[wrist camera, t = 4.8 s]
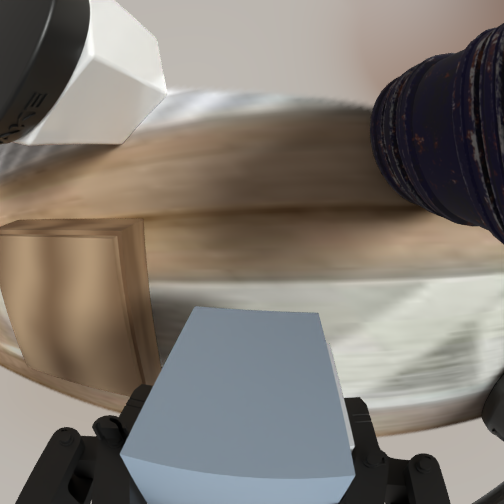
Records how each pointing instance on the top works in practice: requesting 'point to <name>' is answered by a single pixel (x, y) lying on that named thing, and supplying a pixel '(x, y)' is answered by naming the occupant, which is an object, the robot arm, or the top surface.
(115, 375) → the base block
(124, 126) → the jar
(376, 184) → the top surface
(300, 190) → the top surface
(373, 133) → the dark blue upright cylinder
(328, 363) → the slate block
